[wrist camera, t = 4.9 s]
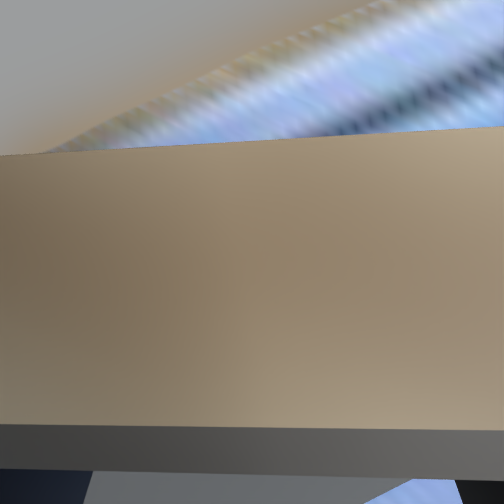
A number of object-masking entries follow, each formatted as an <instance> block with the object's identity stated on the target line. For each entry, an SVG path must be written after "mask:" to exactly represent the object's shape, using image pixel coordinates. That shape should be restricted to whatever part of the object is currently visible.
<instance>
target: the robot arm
mask: <svg viewBox="0 0 504 504" xmlns="http://www.w3.org/2000/svg"><path fill="white" fill-rule="evenodd" d="M92 474H93V471H81V470H40V469H0V504H83V503H84V500H85V497H86V494H87V490H88V487H89V484H90V481H91V478H92ZM455 482H456V485H457V488H458V491H459V494H460V497H461V499H462V502H463V504H504V481H489V480H455Z"/></svg>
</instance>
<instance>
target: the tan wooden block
mask: <svg viewBox="0 0 504 504" xmlns="http://www.w3.org/2000/svg"><path fill="white" fill-rule="evenodd" d="M0 469H40V470H81V471H121V472H162V473H203V474H244V475H285V476H326V477H366V478H407V479H448V480H489V481H504V126H499V127H482V128H465V129H448V130H431V131H414V132H397V133H380V134H363V135H346V136H329V137H312V138H295V139H278V140H261V141H244V142H227V143H210V144H193V145H176V146H159V147H142V148H125V149H108V150H91V151H74V152H57V153H40V154H24V155H6V156H0Z"/></svg>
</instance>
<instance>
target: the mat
mask: <svg viewBox="0 0 504 504" xmlns="http://www.w3.org/2000/svg"><path fill="white" fill-rule="evenodd" d="M409 480H411V479H407V478H366V477H326V476H285V475H244V474H203V473H162V472H121V471H93V474H92V478H91V481H90V484H89V487H88V490H87V494H86V497H85V500H84V503H83V504H364V503H366V502H368V501H369V500H371V499H373V498H375V497H377V496H379V495H381V494H383V493H385V492H387V491H389V490H391V489H393V488H395V487H397V486H399V485H401V484H403V483H405V482H407V481H409Z"/></svg>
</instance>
